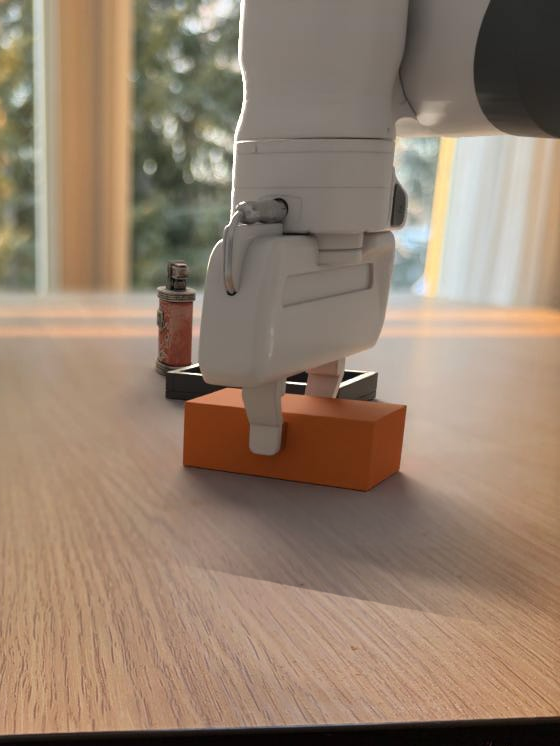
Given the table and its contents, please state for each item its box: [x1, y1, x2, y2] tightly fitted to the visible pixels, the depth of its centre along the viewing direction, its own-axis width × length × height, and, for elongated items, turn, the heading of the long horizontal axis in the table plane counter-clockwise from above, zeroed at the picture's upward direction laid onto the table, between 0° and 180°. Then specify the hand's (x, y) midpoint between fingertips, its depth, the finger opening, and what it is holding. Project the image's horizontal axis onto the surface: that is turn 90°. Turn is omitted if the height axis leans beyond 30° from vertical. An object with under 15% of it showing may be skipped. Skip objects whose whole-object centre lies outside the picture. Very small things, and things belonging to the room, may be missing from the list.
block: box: [182, 388, 408, 492], centre depth 65 cm, size 12×6×4 cm, turn 57°
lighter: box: [155, 260, 197, 376], centre depth 100 cm, size 8×3×10 cm, turn 4°
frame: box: [164, 363, 379, 402], centre depth 88 cm, size 15×9×2 cm, turn 57°
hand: (291, 441), depth 65 cm, fingers closed on block, 6 cm apart
